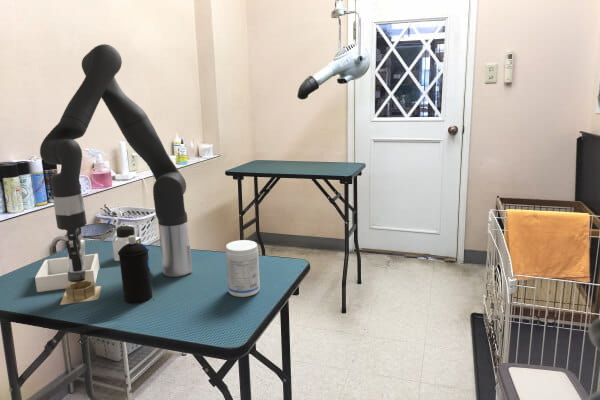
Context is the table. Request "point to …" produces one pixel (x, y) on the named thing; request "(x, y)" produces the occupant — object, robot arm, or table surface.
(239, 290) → the supplement tub
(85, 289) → the socket base
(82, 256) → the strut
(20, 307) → the table surface
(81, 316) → the table surface
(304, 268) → the table surface
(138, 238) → the medicine bottle
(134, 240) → the aerosol can
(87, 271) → the bin
